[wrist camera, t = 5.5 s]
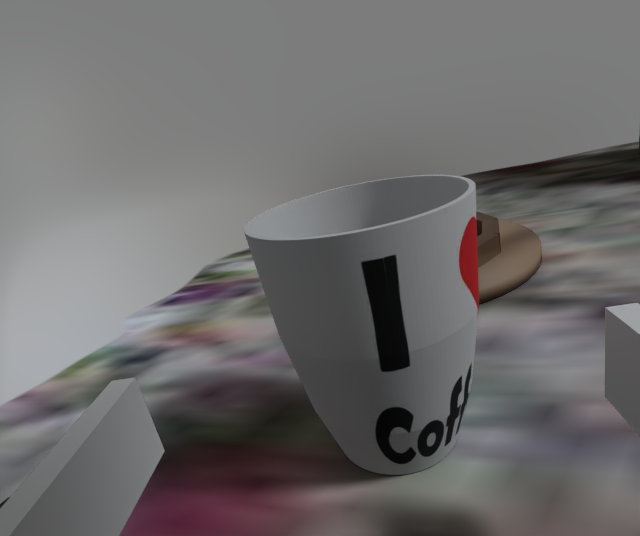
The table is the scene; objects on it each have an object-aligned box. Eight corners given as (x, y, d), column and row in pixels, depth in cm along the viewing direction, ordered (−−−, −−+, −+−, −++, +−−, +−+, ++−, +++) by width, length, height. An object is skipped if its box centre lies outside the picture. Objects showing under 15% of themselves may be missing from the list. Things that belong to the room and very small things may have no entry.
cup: (395, 556, 14) (333, 254, 10) (270, 435, 20) (208, 226, 17) (540, 420, 18) (527, 172, 14) (396, 356, 24) (365, 175, 21)
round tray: (587, 233, 35) (586, 202, 34) (439, 350, 24) (433, 309, 23) (394, 222, 50) (391, 200, 50) (248, 290, 39) (240, 263, 38)
